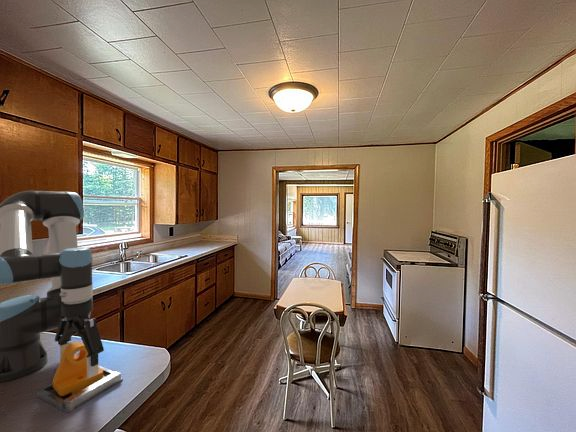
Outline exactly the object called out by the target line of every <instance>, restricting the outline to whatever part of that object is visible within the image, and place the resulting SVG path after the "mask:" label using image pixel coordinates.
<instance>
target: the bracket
mask: <svg viewBox="0 0 576 432" xmlns="http://www.w3.org/2000/svg"><path fill="white" fill-rule="evenodd" d="M76 353H77V354H76ZM87 355H88V352H87V350H86V348H85V345H84V343H83V341H73V342H71V344H70V345H68V346H67V347H66V349H65V350H64V353H63V355H62V358H61V360H60V359H59V363H58V365H57V366H58V367H57V369H56V372H55V374H54V375H53V376H54V377H53V379H52V383H53V388H54V389H55V390H56V392H57V393H58V394H59V395H60V396H64V395H66V394H69V393H71V394H72V395H73V394H75V393H77V392H79V391H81V390H83V389H85V388H86V387H88V386H90V385H92V384H94V383H95V381H98V380H100V379H102V378H103V370H102V369H101V368H100V367H99V366H100V365H99V366H98V371H99V373H98V374H97V375H95V376H93V377H91V378H89V379H88V378H87V357H86V356H87Z"/></svg>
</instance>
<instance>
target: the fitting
mask: <svg viewBox="0 0 576 432" xmlns="http://www.w3.org/2000/svg"><path fill="white" fill-rule="evenodd" d="M98 366H99V367H100V368H101V369H102V370H103V378H102V379H100V380H98V381H95V383H94V384H92V385H90V386H88V387H86V388H85V389H83V390H81V391H79V392H77V393H75V394H73V395H72V394H71V393H69V394H66V395H64V396H60V395H59V394H58V393H57V392H56V390H55V389H54V388H53V382H52V383H50V384H48V385H45V386H44V387H41V388H40V389H38V390H36V395H37V398H39V399H41V400H43V401H44V402H46V403H48V404H50V405H52V406H53V407H55V408H58V409H59V410H61V411H62V412H64V413H67V414H68V413H71V412H73V411H74V410H75V409H77V408H79V407H80V406H82V405H84V404H85V403H87V402H88V401H91V400H92V399H94V398H95V397H97V396H99V395H100V394H102V393H103V392H105V391H107V390H109V389H110V388H113V387H114V386H115V385H117V384H118V383H121V382H122V381H123V380H124V379H123V378H122V372H118V371H116V370H115V371H114V370H112V369H109V368H107V367H104V366H102V365H99V364H98Z"/></svg>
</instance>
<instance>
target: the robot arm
mask: <svg viewBox="0 0 576 432" xmlns="http://www.w3.org/2000/svg"><path fill="white" fill-rule="evenodd" d="M84 211H85V210H84V204H83V200H82V198H81V195H79V193H77V192H73V191H66V190H64V191H56V190H55V191H50V190H48V191H47V190H24V191H19V192H17V193H13V194H12V195H10V196H8V197H7V198H5V199H4V200H3V201H2V202H0V285H5V284H7V285H10V284H14V283H22V282H28V281H35V280H42V279H43V280H45V279H49V278H50V279H51V287H50V288H49V289H48V290H47V291H46V297H40V295H38V294H27V295H25V294H24V295H21V296H18V297H13V298H10V299H7V300H5V301H2V302H0V383H3V382H9V381H12V380H15V379H18V378H21V377H25V376H27V375H30V374H32V373H34V372H35V371H37V370H39V369H41V368H42V367H44V366H45V365H46V364H47V363H48V352H47V351H46V348H45V346H44V345H43V342H42V340H41V333H45V332H49V331H53V330H56V332H55V337H54V341H55V343H56V342H57V345H59V361H60V360H61V358H62V355H63V353H64V350H65V349H66V347H67V346H68V345H70V344H71V343H72V342H71V341H72V337H73V335H74V333H76V335H77V336H78V337H79V338H81V342H82V343H84V345H85V348H86V350H87V352H88V355H87V356H86V357H87V378H88V379H89V378H91V377H93V376H95V375H97V374H98V373H99V371H98V365H99V354H100V353H103V352H104V351H105V348H104V344H103V342H102V339H101V335H100V331H99V328H98V325H97V324H98V323H97V318H95V317H94V318H90V317H91V313H92V311H93V310H94V299H93V296H94V295H93V294H94V290H93V255H92V249H91V248H90V247H84V246H83V247H79V246H78V236H77V226H78V225H79V224H80V223H81V220H83V219H84V217H85V212H84ZM32 221H42V225H43V226H44V227H46V228H47V230H48V244H49V245H48V246H49V253H38V254H34V248H33V236H32V235H33V234H32V223H31V222H32Z"/></svg>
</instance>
